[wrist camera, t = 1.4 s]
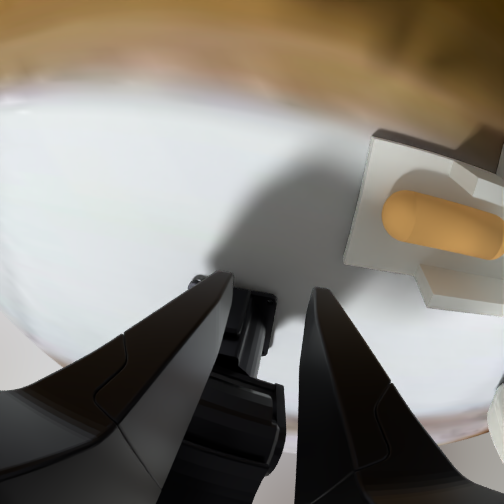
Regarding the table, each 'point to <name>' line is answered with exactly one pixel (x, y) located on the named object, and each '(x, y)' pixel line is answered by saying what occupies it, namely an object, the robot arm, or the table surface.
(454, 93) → the table surface
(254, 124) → the table surface
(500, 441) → the vase
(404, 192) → the orange rounded block
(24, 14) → the table surface
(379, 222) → the white open box
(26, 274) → the table surface
